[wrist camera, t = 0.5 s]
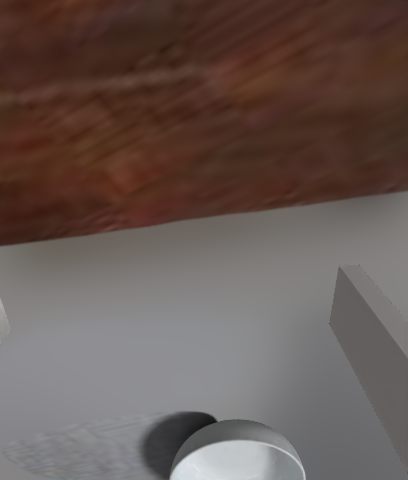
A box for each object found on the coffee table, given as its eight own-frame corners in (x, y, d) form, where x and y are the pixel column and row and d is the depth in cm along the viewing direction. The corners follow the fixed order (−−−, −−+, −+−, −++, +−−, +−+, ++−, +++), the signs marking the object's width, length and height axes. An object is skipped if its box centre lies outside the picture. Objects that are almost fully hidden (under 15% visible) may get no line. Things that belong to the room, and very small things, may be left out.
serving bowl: (177, 483, 63) (175, 528, 57) (165, 402, 54) (161, 444, 48) (292, 478, 63) (302, 523, 56) (298, 396, 54) (311, 437, 48)
